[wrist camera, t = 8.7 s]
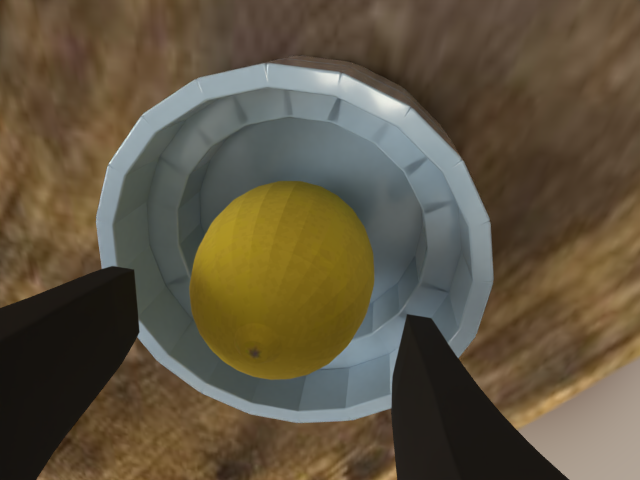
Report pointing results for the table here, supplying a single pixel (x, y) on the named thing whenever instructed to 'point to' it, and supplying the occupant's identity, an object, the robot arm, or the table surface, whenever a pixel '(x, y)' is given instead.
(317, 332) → the lemon
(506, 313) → the table surface
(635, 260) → the table surface
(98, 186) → the table surface
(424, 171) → the bowl
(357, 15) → the table surface
